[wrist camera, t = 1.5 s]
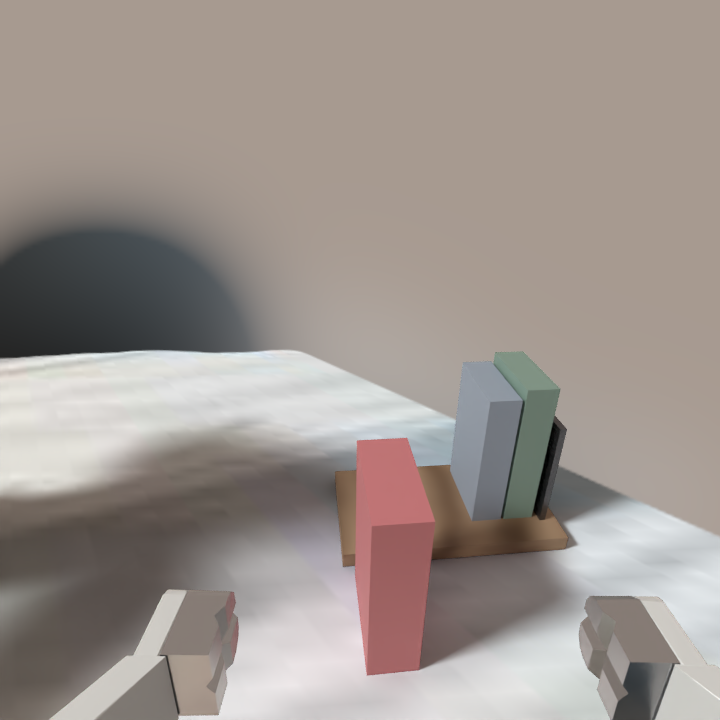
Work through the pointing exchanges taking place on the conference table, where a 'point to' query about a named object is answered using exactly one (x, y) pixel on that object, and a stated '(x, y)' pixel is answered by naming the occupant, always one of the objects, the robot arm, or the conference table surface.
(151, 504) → the conference table surface
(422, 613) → the tall pink pillar
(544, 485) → the bookend
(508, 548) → the board
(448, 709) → the conference table surface
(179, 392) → the conference table surface
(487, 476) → the shelved books
